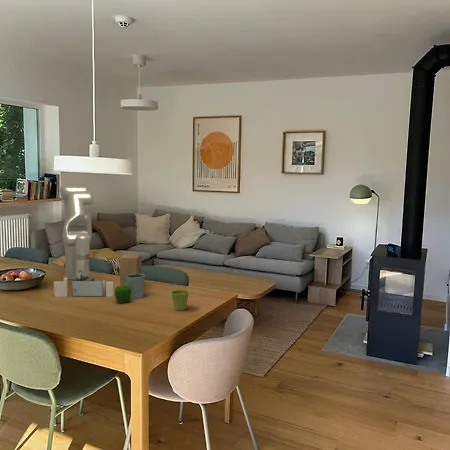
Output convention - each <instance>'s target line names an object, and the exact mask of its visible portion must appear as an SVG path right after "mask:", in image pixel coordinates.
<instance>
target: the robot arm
mask: <svg viewBox="0 0 450 450" xmlns="http://www.w3.org/2000/svg"><path fill="white" fill-rule="evenodd" d="M59 193H60V197H61V199H62V201H63V207H64V209H63V210H64V211H63V212H64V215H63V216H64V225H63V230H62V240H63V246H64V268H65V274H64V275H62V278H63V279H64V278H68V280H74V279H75V278H78V281H84V278H85V277H88V278H90V277H89V275H90V264H89V263H90V259H91V257H90V254H91V253H90V252H91V251H90V249H91V248H90V245H91V244H90V243H91V241H92V237H93V235H92V234H93V233H92V231H93V229H92V226H93V225H92V215H91V213H90V212H89V210H88V211H87V210H85V206H91V205H93V204H94V201H95V200H94V194H93V191H92V188H91V186H89V185H88V184H64V185H61V186H60V188H59Z"/></svg>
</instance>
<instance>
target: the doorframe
mask: <svg viewBox="0 0 450 450" xmlns="http://www.w3.org/2000/svg"><path fill="white" fill-rule="evenodd" d="M68 280H69V279H68V278H63V281H53V295H54V297H60V298H61V297H62V298H63V297H64V298H68V296H69V284H68V283H69V282H68ZM114 283H115V282H114V281H106V279H103V280H102V297H104V298H106V297H107V298H111V297H112V298H114V297H115V288H114V287H115V286H114Z"/></svg>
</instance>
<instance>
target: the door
mask: <svg viewBox="0 0 450 450" xmlns="http://www.w3.org/2000/svg"><path fill="white" fill-rule="evenodd" d="M71 282H72V281H71ZM71 284H73V287H72V296H73V297H103V281H94V282H87V281H73V282H72V283H71Z"/></svg>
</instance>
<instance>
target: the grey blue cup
mask: <svg viewBox="0 0 450 450" xmlns="http://www.w3.org/2000/svg"><path fill="white" fill-rule="evenodd" d="M145 277H146V275H145V274H144V273H142V274H128V275H126V282H127V287H130V288H131V296H130V300H139V299H143V298H144V293H145V292H144V289H145Z"/></svg>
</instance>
